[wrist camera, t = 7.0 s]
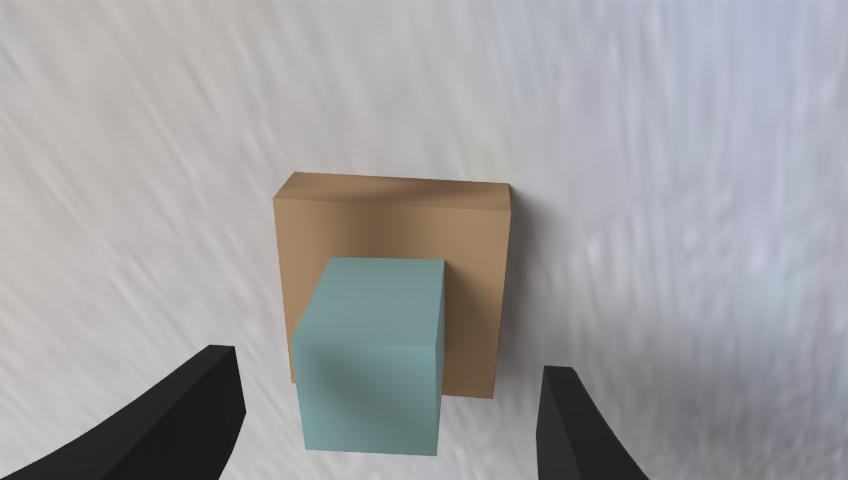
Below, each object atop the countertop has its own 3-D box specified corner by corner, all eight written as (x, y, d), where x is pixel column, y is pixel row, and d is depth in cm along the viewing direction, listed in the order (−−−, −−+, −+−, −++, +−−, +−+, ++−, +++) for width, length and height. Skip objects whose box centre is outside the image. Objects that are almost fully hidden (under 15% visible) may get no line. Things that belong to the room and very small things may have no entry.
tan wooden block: (508, 178, 22) (511, 211, 19) (491, 350, 26) (492, 398, 23) (297, 167, 22) (273, 198, 20) (311, 338, 26) (291, 382, 23)
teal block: (444, 259, 20) (435, 347, 16) (444, 353, 22) (436, 456, 18) (330, 256, 21) (290, 342, 16) (339, 349, 22) (305, 449, 18)
